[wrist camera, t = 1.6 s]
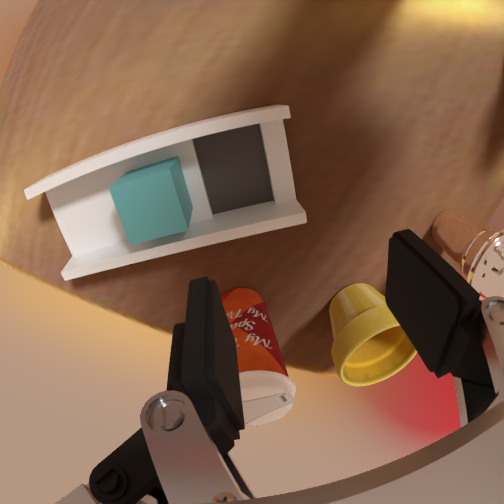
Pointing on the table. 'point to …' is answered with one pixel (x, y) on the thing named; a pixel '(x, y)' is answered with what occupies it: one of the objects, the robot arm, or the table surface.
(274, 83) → the table surface
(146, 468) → the robot arm
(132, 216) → the teal block
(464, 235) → the cup with straw
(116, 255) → the trap channel
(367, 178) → the table surface
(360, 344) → the plant pot
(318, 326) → the table surface
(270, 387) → the paper cup
